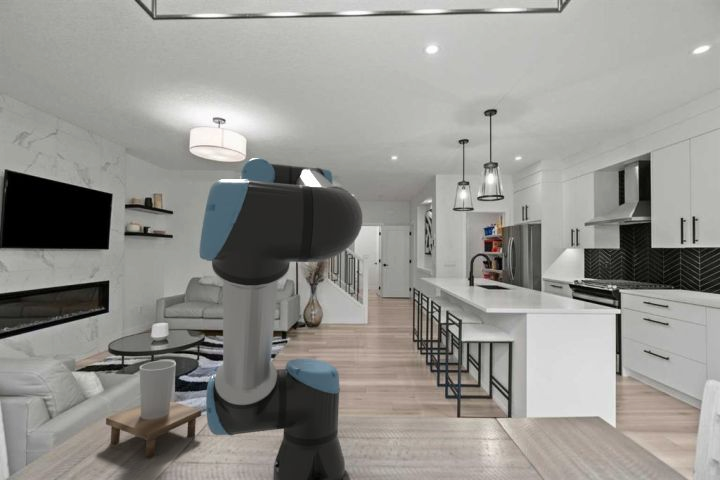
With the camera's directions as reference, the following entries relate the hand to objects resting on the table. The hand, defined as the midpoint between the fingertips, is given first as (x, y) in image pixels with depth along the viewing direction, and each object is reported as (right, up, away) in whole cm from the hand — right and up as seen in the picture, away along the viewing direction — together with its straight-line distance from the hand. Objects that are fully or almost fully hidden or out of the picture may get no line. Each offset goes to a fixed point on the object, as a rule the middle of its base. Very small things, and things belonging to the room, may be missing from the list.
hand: (251, 298), depth 96 cm
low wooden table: (-22, -34, -7) cm, 41 cm away
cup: (-22, -28, -7) cm, 36 cm away
